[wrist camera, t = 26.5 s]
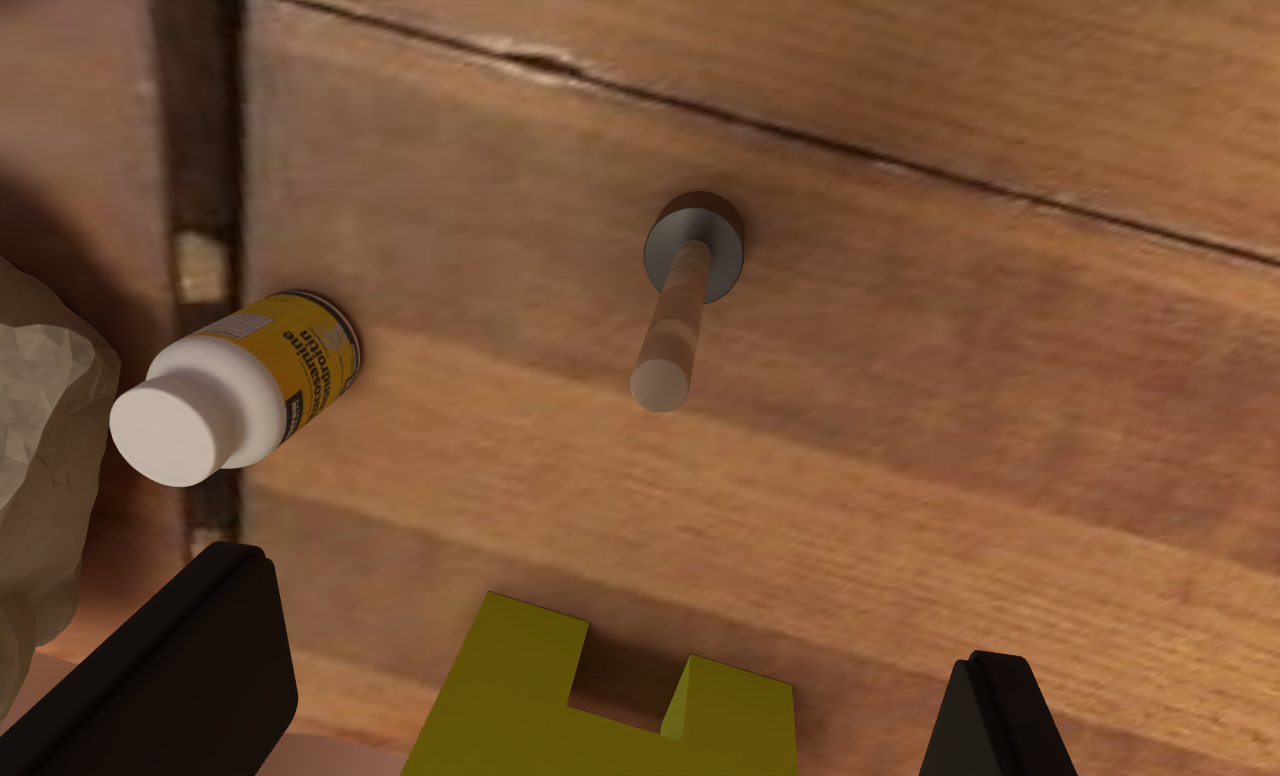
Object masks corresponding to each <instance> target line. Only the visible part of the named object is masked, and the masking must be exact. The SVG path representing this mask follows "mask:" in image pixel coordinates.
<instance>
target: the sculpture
mask: <svg viewBox="0 0 1280 776" xmlns="http://www.w3.org/2000/svg"><path fill="white" fill-rule="evenodd" d="M121 364H122V363H121V361H120V358H119V356H118V354H117V352H116V351H114V350H113V349H112V348H111V346H110V345H109V344H108V343H107V341H106V340H105V339H104V338H103V337H102V336H101V335H100V334H99V333H98V332H97V331H96V330H95V329H94V328H93V327H92V326H91V325H90V324H89V323H88V322H87V321H85V320H84V319H82V318H81V317H79V316H78V315H76V314H75V313H74V312H73V311H71V310H70V309H69V308H67V307H66V306H65V305H64V304H63V302H62V301H61V300H60V298H59V297H58V296H57V294H56V293H55V292H54V291H53V290H52V289H50V288H49V287H48V286H46V285H45V284H44V283H42V282H41V281H40V280H38V279H37V278H36V277H33V276H31V275H28V274H26V273H24V272H21V271H19V270H18V269H17V268H16V267H14V266H13V265H12V264H11V263H10V262H9V261H7V260H6V259H5V258H4V257H2V256H1V255H0V724H1V722H2V721H3V720H4V718H5V717H6V716H7V714H8V712H9V710H10V708H11V706H12V704H13V702H14V700H15V699H16V696H17V695H18V693H19V691H20V689H21V687H22V684H23V683H24V680H25V678H26V676H27V674H28V671H29V667H30V664H31V659H32V656H33V653H34V651H35V647H39V646H43V645H45V644H46V643H48V642H50V641H52V640H53V639H54V638H55V637H57V636H58V635H59V634H60V633H61V632H62V631H63V630H64V629H65V628H66V627H67V626H68V625H69V624H70V623H71V620H72V618H73V616H74V614H75V611H76V609H77V607H78V605H79V602H80V596H79V591H78V588H79V579H80V572H81V567H82V562H83V557H82V553H81V552H82V549H83V546H84V544H85V540H86V535H87V530H88V525H89V520H90V515H91V511H92V508H93V505H94V502H95V499H96V496H97V493H98V489H99V483H98V478H99V472H100V466H101V461H102V457H103V455H104V452H105V449H106V442H107V435H108V428H109V421H110V413H111V409H112V407H113V403H114V400H115V396H116V392H117V388H118V382H119V376H120V370H121Z"/></svg>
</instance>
